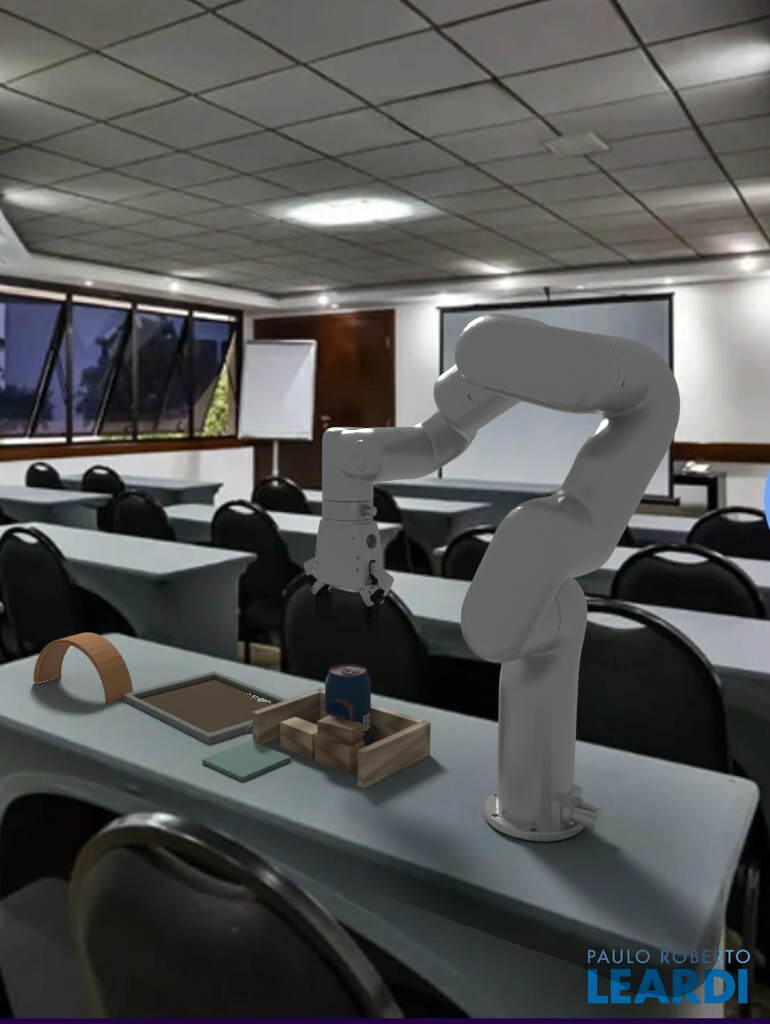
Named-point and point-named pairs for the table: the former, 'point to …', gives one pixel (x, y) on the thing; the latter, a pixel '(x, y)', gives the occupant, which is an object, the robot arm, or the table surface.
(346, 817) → the table surface
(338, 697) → the soda can
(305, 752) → the offcut
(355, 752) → the offcut
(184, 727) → the framed cork board
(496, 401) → the robot arm
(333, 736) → the offcut top
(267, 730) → the enclosure
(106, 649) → the arch
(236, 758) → the mat
